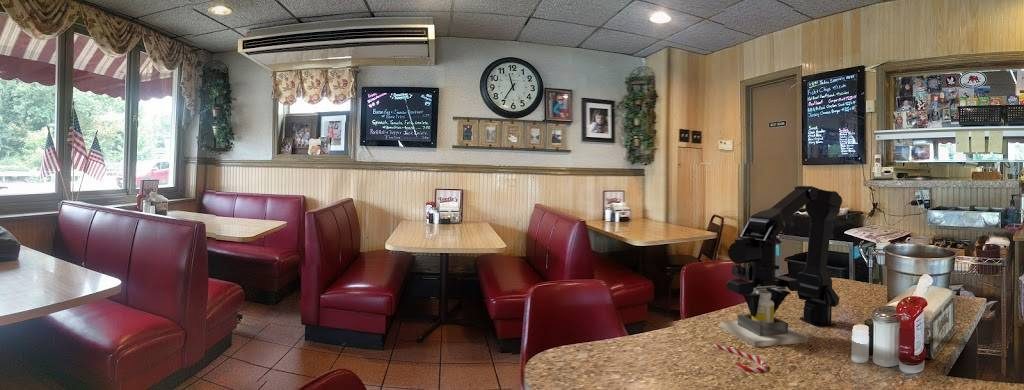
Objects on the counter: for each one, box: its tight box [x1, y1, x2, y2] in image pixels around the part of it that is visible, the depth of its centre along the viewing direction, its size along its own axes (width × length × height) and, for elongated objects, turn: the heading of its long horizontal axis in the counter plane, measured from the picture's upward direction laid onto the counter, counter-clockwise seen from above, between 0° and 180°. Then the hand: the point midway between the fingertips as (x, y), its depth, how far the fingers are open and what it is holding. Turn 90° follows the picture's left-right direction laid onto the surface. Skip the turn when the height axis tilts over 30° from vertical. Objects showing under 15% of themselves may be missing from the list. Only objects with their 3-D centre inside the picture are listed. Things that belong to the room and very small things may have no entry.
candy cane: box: [712, 343, 769, 374], centre depth 103 cm, size 8×1×15 cm
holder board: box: [719, 313, 809, 348], centre depth 117 cm, size 16×14×4 cm
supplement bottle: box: [752, 289, 775, 324], centre depth 117 cm, size 5×5×10 cm
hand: (762, 315), depth 117 cm, fingers closed on supplement bottle, 5 cm apart
